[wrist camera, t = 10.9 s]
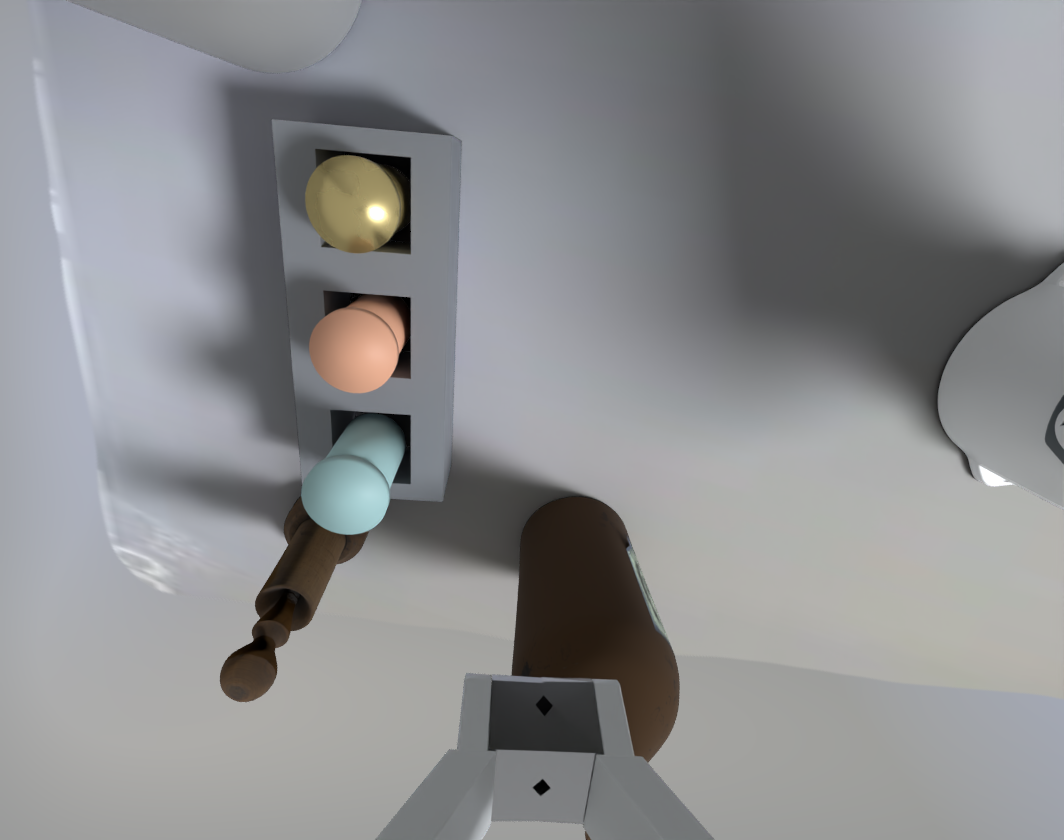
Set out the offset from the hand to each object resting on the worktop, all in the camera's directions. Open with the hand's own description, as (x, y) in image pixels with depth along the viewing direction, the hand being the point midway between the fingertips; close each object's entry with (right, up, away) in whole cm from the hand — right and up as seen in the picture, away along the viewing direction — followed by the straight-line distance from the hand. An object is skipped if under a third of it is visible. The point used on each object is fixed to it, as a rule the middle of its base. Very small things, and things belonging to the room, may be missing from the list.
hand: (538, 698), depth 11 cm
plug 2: (-11, +12, +29) cm, 34 cm away
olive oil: (+4, -5, +40) cm, 40 cm away
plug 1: (-10, +20, +27) cm, 35 cm away
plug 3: (-11, +4, +30) cm, 32 cm away
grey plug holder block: (-11, +13, +31) cm, 36 cm away
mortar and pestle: (-17, -3, +38) cm, 42 cm away
